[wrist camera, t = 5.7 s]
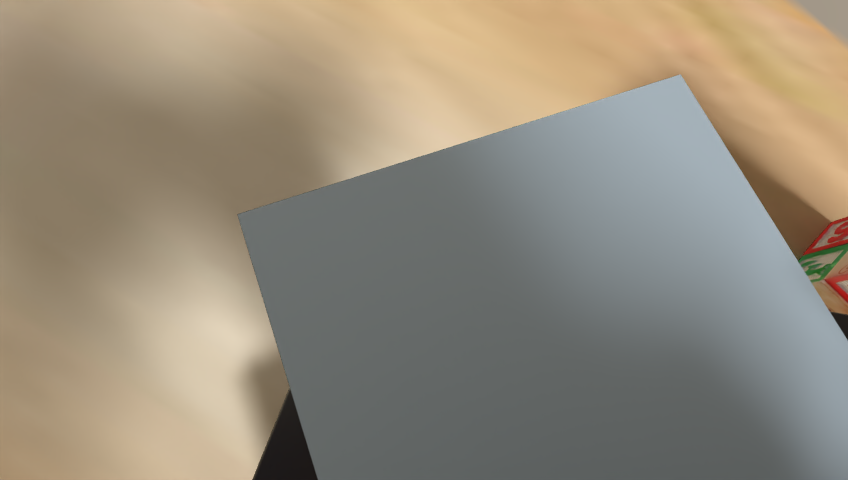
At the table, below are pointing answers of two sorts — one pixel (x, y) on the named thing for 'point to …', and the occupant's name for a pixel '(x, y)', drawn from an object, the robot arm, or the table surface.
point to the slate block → (555, 310)
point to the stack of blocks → (830, 265)
